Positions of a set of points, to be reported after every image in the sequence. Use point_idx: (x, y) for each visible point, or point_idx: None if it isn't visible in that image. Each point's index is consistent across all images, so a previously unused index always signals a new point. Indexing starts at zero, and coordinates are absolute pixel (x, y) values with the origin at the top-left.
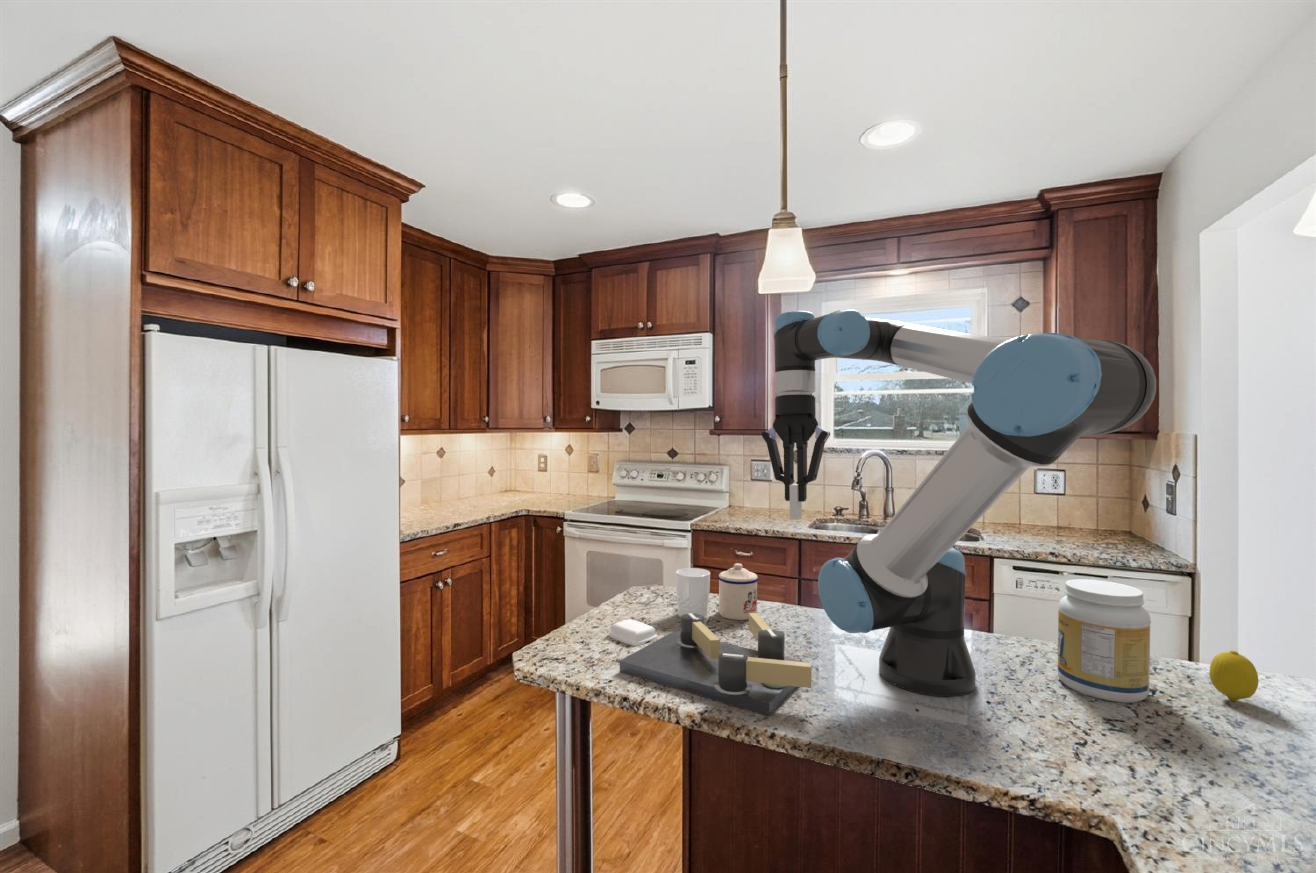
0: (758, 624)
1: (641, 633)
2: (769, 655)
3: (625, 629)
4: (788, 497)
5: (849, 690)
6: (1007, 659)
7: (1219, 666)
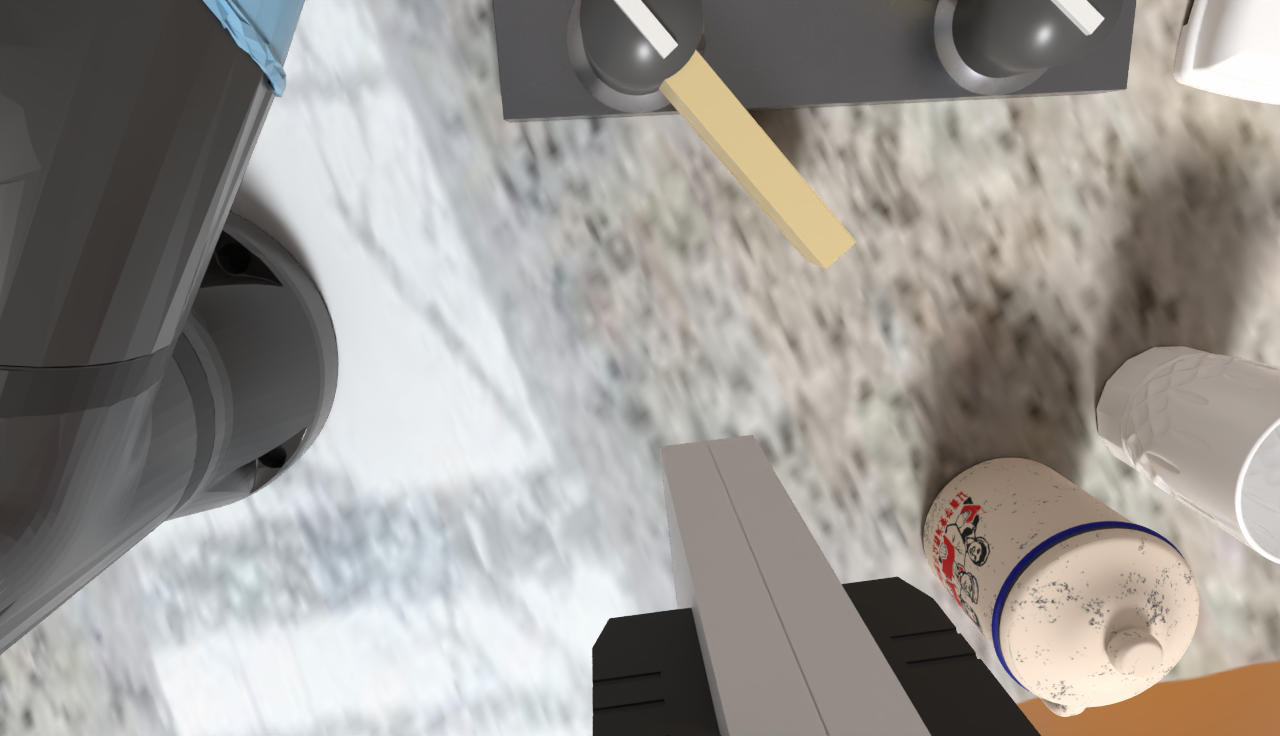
0: (750, 118)
1: None
2: None
3: None
4: (874, 618)
5: (339, 74)
6: (40, 668)
7: None
